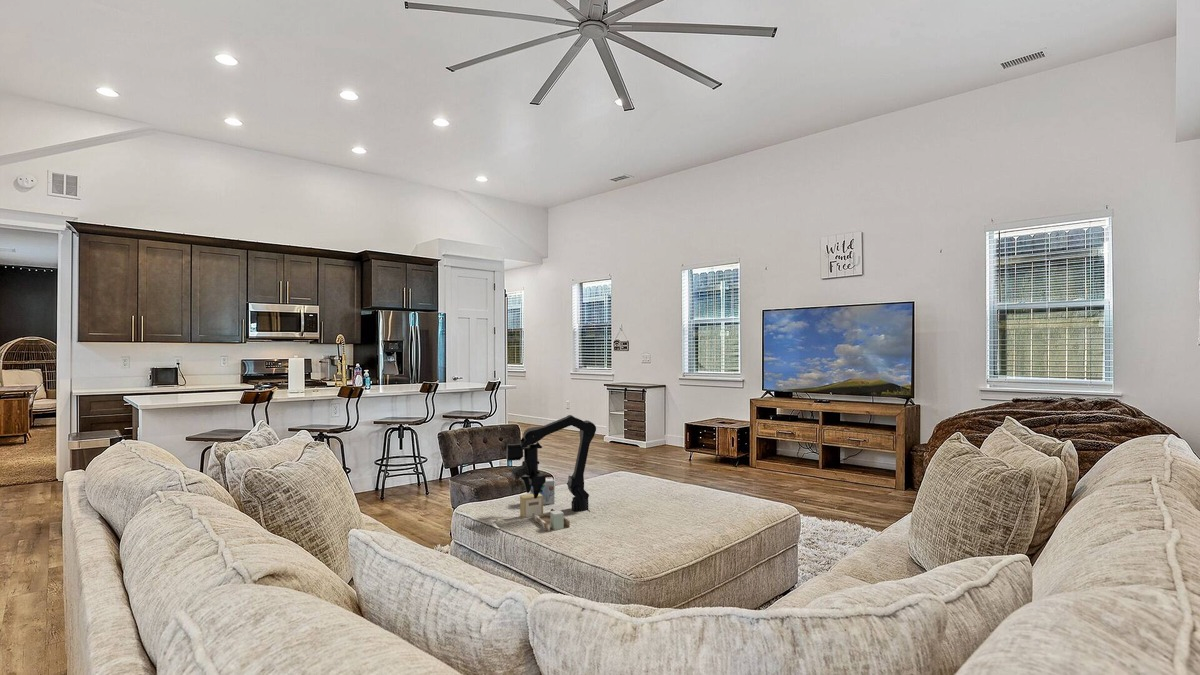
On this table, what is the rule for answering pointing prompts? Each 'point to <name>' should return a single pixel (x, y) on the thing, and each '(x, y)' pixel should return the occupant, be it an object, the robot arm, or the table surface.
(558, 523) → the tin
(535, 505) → the carton
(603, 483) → the table surface
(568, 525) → the shelf
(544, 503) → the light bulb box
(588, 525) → the table surface
